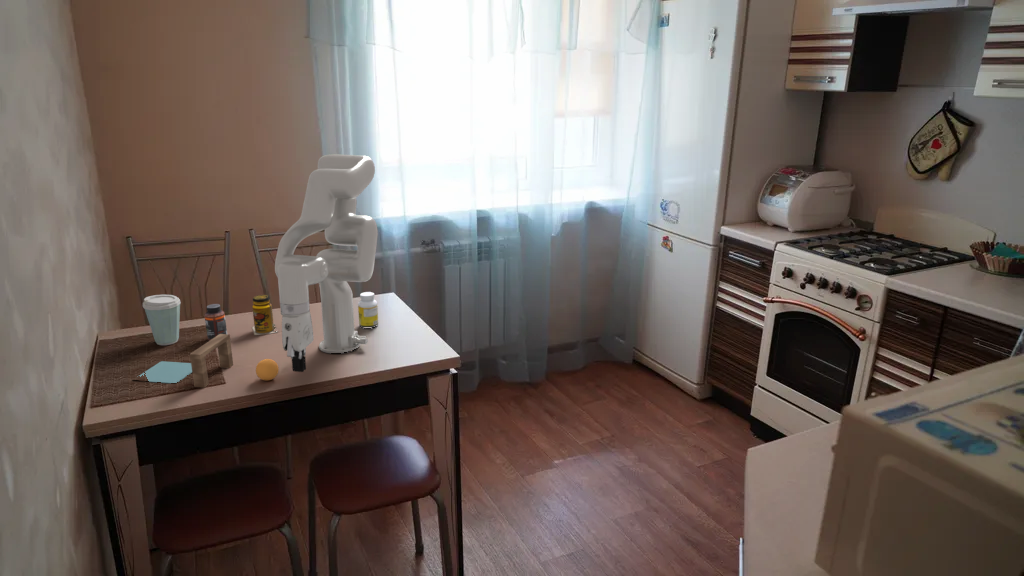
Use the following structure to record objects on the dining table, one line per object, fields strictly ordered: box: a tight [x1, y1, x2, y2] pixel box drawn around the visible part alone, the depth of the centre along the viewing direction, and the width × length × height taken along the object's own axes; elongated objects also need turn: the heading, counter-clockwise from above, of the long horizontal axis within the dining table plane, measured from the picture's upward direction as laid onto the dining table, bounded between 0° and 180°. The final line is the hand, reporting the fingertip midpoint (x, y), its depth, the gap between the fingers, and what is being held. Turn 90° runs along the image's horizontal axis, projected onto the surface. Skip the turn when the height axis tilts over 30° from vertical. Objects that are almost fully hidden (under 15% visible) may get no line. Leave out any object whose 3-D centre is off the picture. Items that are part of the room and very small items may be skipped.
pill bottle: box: [357, 291, 379, 328], centre depth 225 cm, size 6×6×12 cm
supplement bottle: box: [204, 303, 228, 342], centre depth 212 cm, size 6×6×11 cm
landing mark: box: [138, 360, 192, 384], centre depth 189 cm, size 13×13×1 cm
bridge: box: [189, 333, 234, 389], centre depth 186 cm, size 3×15×10 cm, turn 173°
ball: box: [255, 358, 279, 381], centre depth 185 cm, size 6×6×6 cm
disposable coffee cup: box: [142, 294, 182, 346], centre depth 208 cm, size 11×11×15 cm
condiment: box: [251, 294, 278, 336], centre depth 220 cm, size 7×8×12 cm
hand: (299, 370), depth 183 cm, fingers closed
